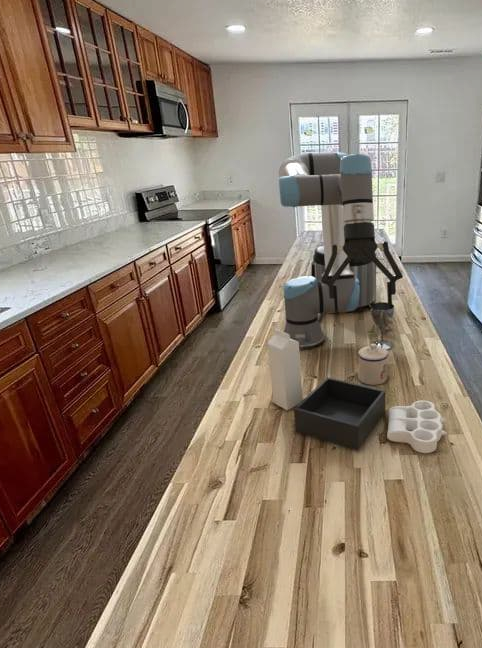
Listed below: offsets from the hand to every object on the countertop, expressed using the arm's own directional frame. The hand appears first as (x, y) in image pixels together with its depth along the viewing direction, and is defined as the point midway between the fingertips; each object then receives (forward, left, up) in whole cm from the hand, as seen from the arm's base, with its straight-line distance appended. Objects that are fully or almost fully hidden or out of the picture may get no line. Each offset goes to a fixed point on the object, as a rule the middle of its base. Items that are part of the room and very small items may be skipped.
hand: (363, 309), depth 110 cm
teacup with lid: (-15, -4, -28) cm, 32 cm away
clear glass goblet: (-50, -16, -28) cm, 60 cm away
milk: (+9, -20, -28) cm, 35 cm away
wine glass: (-37, -10, -28) cm, 48 cm away
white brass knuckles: (+6, +17, -28) cm, 34 cm away
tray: (+11, -2, -28) cm, 30 cm away
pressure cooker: (-69, -41, -28) cm, 85 cm away
